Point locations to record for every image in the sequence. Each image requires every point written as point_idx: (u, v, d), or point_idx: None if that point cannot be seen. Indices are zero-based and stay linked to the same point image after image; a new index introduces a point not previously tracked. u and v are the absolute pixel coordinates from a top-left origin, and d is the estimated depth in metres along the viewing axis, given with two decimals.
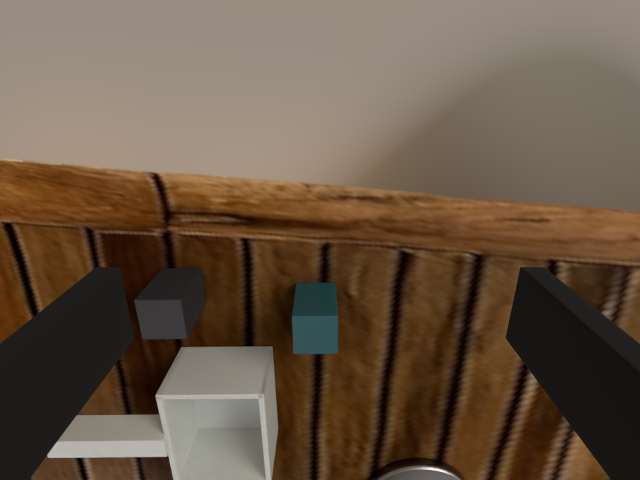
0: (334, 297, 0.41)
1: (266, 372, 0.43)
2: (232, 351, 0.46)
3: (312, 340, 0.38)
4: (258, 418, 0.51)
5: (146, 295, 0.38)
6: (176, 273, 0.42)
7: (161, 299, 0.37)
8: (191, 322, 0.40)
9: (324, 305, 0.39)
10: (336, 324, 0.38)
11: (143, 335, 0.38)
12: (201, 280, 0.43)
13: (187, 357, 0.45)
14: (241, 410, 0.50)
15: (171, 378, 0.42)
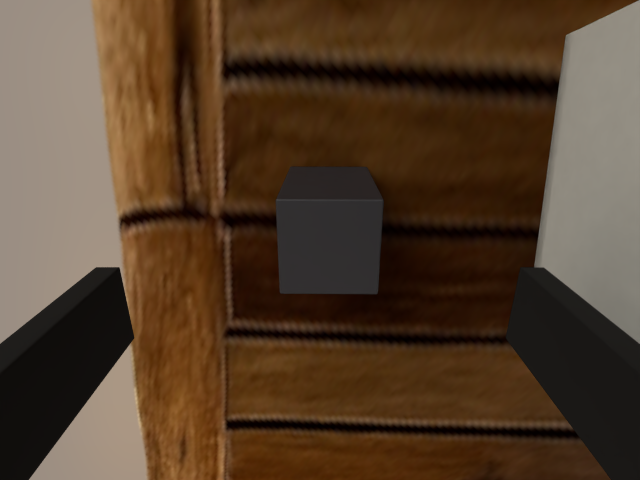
0: None
1: None
2: (562, 167, 0.14)
3: None
4: None
5: None
6: None
7: None
8: (360, 189, 0.17)
9: None
10: None
11: (367, 290, 0.18)
12: (310, 168, 0.22)
13: None
14: None
15: None
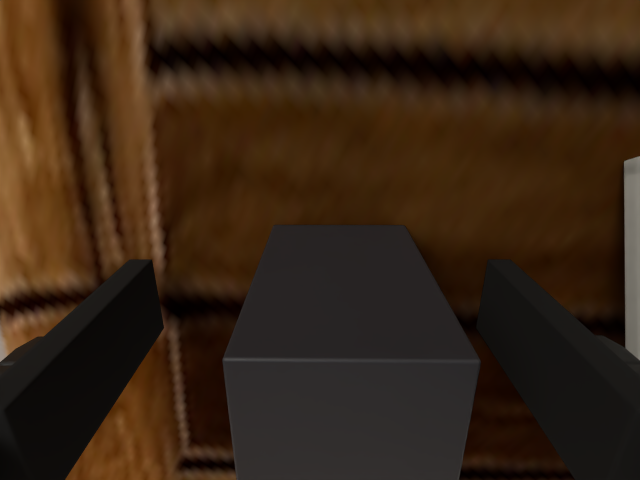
0: None
1: None
2: None
3: None
4: None
5: None
6: None
7: None
8: (413, 308, 0.08)
9: None
10: None
11: None
12: (308, 231, 0.13)
13: None
14: None
15: None
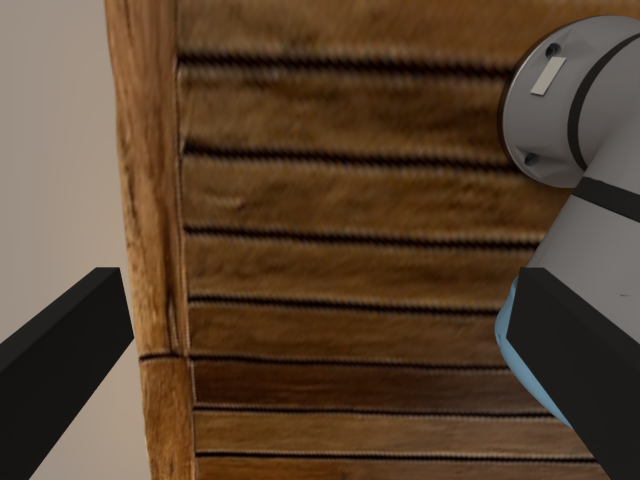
0: None
1: None
2: None
3: None
4: None
5: None
6: None
7: None
8: None
9: None
10: None
11: None
12: None
13: None
14: None
15: None
